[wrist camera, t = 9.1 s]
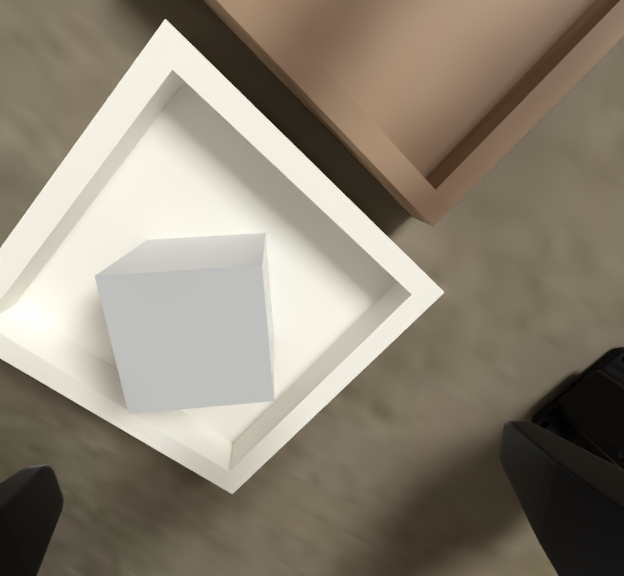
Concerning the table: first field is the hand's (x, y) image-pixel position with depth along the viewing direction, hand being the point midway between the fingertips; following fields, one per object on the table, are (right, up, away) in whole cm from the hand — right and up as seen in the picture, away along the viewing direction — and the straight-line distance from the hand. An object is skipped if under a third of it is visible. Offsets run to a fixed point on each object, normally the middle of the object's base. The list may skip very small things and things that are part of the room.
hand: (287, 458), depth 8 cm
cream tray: (-4, +3, +10) cm, 11 cm away
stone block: (-4, +3, +10) cm, 11 cm away
